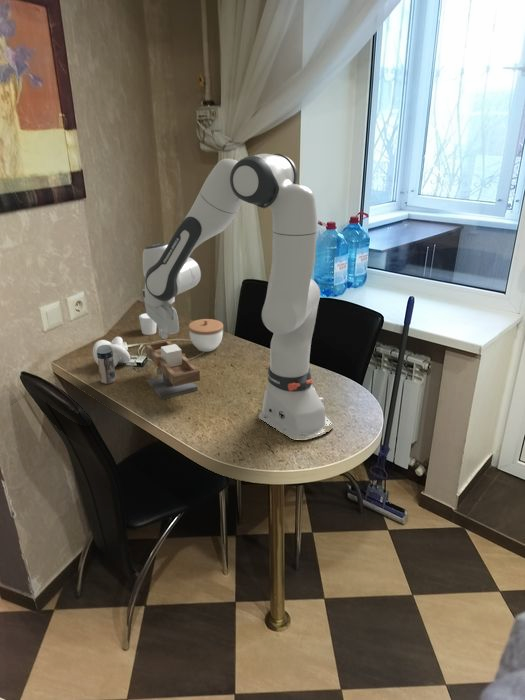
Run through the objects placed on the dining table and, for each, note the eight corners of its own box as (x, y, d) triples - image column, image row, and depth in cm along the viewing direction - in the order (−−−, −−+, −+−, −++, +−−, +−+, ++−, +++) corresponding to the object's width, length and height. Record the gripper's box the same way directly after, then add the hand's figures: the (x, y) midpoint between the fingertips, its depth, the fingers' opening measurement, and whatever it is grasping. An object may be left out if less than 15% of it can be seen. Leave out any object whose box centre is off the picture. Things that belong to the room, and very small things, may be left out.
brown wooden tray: (206, 399, 152) (205, 369, 148) (169, 409, 147) (167, 378, 142) (175, 366, 172) (174, 338, 167) (141, 374, 166) (139, 345, 162)
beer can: (111, 385, 159) (107, 351, 154) (97, 383, 160) (93, 349, 155) (118, 378, 163) (114, 345, 158) (104, 376, 164) (100, 343, 159)
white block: (182, 364, 154) (181, 349, 152) (167, 367, 152) (166, 353, 150) (176, 358, 158) (175, 343, 156) (161, 361, 156) (160, 346, 154)
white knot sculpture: (103, 376, 164) (100, 351, 160) (88, 363, 172) (84, 339, 169) (134, 366, 171) (132, 342, 167) (118, 354, 179) (115, 331, 175)
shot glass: (152, 327, 203) (151, 311, 200) (161, 332, 198) (159, 316, 195) (137, 331, 199) (135, 314, 196) (145, 336, 194) (144, 320, 191)
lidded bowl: (182, 346, 187) (181, 319, 182) (210, 338, 195) (209, 311, 190) (202, 357, 179) (201, 329, 174) (230, 348, 186) (230, 321, 182)
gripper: (182, 304, 147) (185, 347, 153) (158, 286, 163) (161, 325, 169) (162, 307, 144) (165, 351, 150) (139, 289, 160) (143, 328, 166)
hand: (163, 337), depth 159 cm, fingers closed
